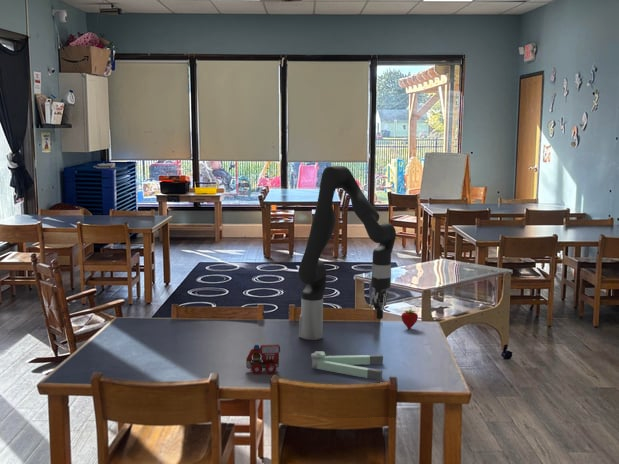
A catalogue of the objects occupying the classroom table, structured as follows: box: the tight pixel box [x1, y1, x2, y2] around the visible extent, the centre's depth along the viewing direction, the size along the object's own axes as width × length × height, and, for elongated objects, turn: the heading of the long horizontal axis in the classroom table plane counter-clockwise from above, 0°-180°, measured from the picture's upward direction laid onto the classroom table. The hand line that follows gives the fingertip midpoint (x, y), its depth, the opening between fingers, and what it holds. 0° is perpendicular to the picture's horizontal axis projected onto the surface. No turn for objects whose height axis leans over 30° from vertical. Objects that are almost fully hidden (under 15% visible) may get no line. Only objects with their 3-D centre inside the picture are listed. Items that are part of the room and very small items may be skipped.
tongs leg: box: [311, 357, 383, 381], centre depth 260 cm, size 27×3×4 cm, turn 66°
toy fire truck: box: [245, 344, 281, 375], centre depth 260 cm, size 7×12×10 cm, turn 94°
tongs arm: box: [310, 350, 384, 366], centre depth 267 cm, size 28×5×5 cm, turn 96°
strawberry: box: [401, 306, 419, 330], centre depth 314 cm, size 6×8×10 cm
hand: (379, 318), depth 273 cm, fingers closed
